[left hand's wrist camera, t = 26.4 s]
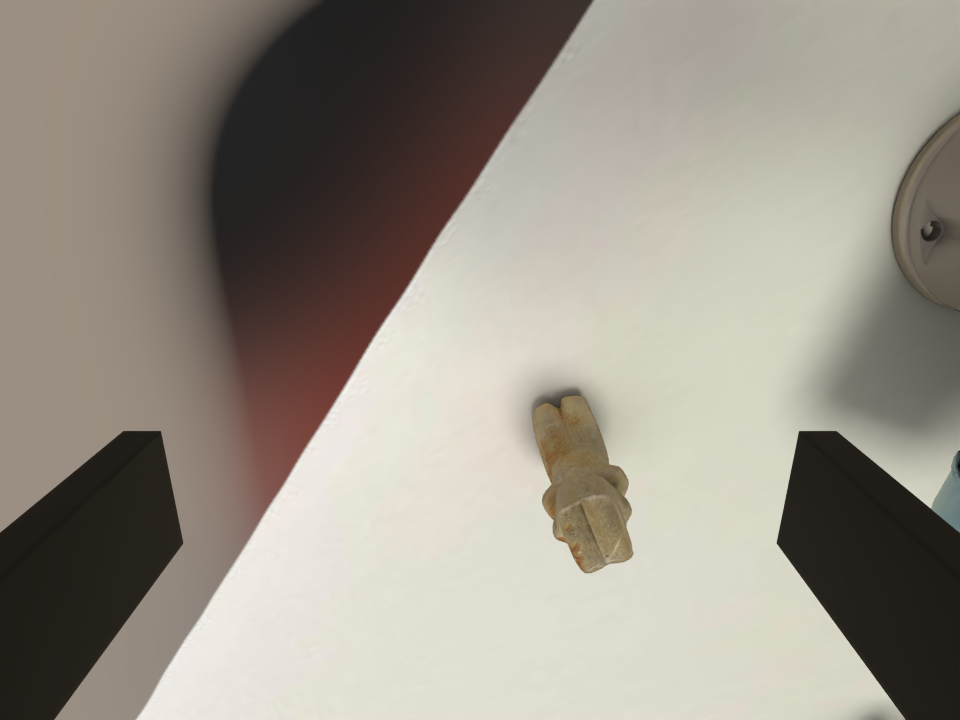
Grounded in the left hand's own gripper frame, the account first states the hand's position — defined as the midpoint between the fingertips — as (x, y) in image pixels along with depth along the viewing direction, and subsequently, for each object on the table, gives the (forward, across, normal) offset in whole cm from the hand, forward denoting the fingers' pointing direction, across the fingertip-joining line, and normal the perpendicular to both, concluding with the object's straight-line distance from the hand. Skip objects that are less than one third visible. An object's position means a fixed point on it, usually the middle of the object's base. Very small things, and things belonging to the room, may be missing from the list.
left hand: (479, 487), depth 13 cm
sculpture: (+33, +7, -15) cm, 37 cm away
